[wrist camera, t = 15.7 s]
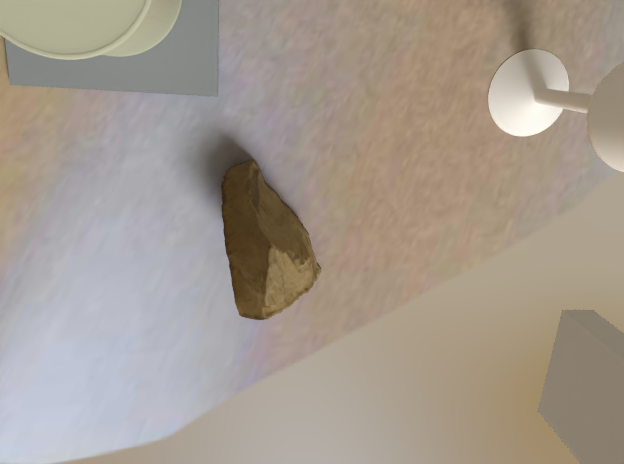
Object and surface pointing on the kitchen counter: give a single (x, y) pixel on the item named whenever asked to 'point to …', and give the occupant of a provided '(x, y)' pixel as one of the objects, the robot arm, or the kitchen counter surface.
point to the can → (87, 26)
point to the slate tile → (137, 61)
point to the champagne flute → (557, 102)
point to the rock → (263, 245)
